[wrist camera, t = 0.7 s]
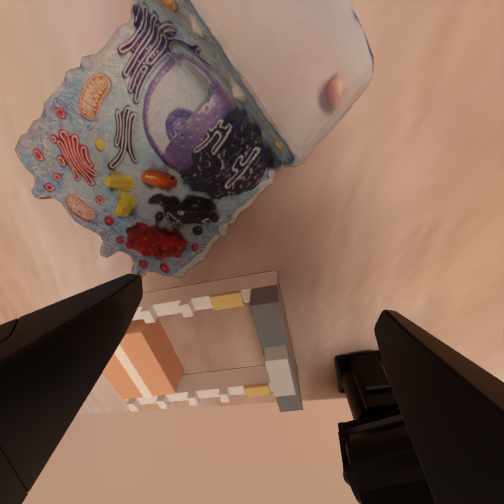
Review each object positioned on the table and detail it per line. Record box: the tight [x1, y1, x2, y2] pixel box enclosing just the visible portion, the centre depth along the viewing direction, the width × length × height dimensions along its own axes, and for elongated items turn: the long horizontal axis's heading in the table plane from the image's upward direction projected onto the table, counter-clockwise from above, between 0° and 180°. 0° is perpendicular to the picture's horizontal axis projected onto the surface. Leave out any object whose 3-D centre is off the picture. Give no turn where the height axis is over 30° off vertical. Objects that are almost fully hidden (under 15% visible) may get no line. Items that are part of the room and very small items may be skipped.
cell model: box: [15, 0, 374, 278], centre depth 15 cm, size 13×11×20 cm
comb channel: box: [126, 271, 303, 412], centre depth 27 cm, size 15×22×6 cm
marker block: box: [103, 318, 184, 399], centre depth 29 cm, size 10×7×4 cm
